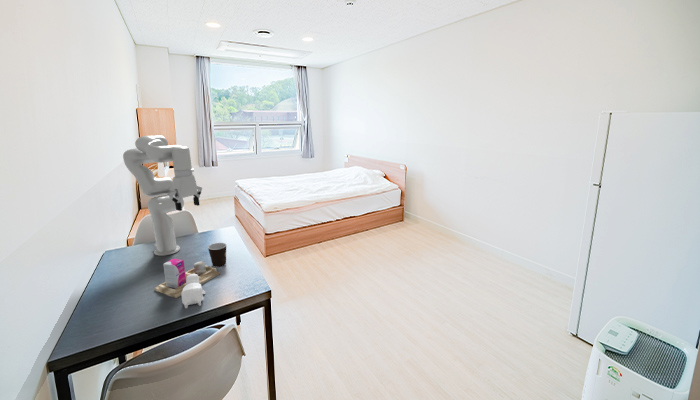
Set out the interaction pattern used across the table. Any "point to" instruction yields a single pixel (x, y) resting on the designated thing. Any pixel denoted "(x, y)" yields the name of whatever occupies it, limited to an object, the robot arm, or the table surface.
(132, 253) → the table surface
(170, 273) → the supplement box
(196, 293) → the white figurine
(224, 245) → the coffee mug
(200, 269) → the beech caddy
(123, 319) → the table surface
